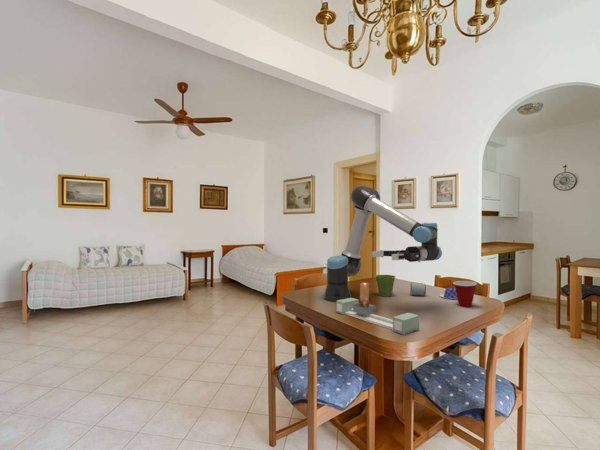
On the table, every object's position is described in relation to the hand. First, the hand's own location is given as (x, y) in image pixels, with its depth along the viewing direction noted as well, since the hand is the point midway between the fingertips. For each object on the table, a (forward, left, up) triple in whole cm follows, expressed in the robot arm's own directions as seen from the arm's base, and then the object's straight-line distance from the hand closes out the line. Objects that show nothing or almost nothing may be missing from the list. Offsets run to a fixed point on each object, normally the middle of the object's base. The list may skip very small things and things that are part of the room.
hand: (381, 255), depth 144 cm
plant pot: (-22, +31, -27) cm, 47 cm away
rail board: (+5, -11, -27) cm, 30 cm away
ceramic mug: (-12, +47, -27) cm, 56 cm away
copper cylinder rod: (-1, -11, -25) cm, 27 cm away
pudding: (+4, +57, -28) cm, 64 cm away
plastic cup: (+17, +45, -27) cm, 55 cm away
